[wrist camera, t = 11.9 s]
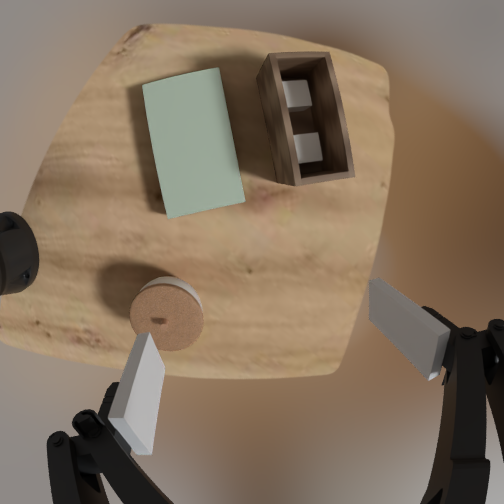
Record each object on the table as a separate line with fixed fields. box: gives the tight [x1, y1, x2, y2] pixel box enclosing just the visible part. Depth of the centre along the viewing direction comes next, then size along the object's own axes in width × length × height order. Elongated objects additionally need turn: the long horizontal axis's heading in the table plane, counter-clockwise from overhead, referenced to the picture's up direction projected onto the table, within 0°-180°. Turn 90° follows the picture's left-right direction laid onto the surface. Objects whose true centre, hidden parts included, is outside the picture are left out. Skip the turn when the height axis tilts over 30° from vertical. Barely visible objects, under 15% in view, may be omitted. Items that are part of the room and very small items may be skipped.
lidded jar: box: [129, 276, 204, 351], centre depth 40 cm, size 11×11×9 cm
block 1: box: [282, 80, 312, 112], centre depth 36 cm, size 4×4×4 cm
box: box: [256, 52, 355, 186], centre depth 35 cm, size 17×8×10 cm, turn 10°
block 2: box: [293, 132, 323, 163], centre depth 38 cm, size 4×4×4 cm
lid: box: [142, 67, 245, 219], centre depth 37 cm, size 20×11×4 cm, turn 10°
